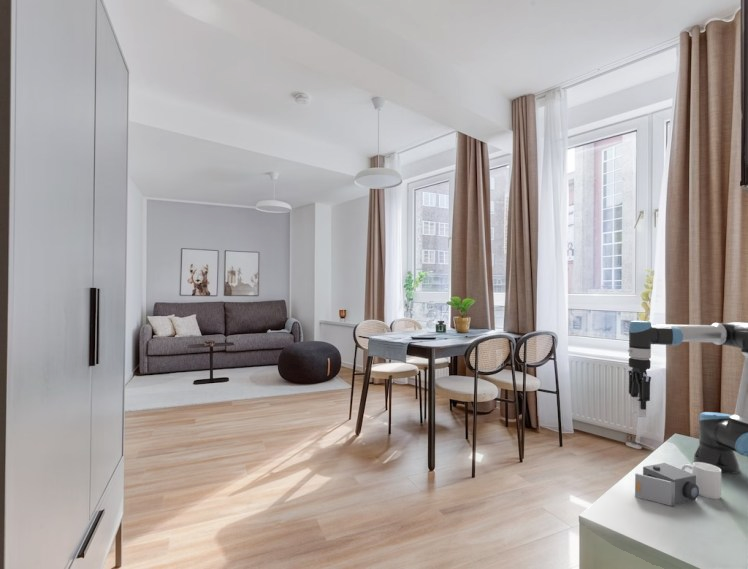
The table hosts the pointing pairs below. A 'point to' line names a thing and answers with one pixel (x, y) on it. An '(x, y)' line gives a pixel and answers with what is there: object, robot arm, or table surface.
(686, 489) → the camera body
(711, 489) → the cup
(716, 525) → the table surface
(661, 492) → the side door
